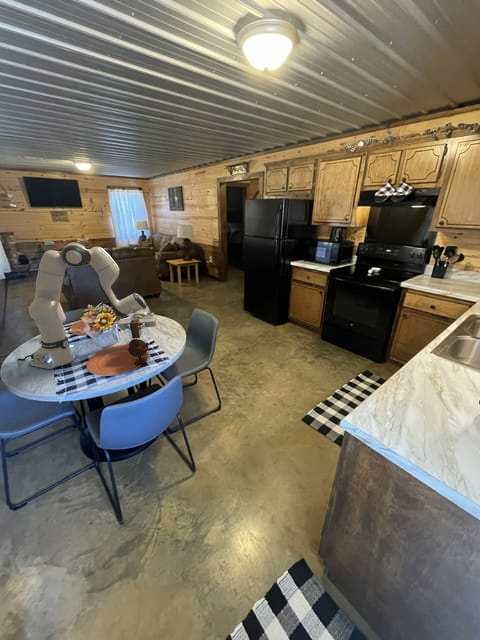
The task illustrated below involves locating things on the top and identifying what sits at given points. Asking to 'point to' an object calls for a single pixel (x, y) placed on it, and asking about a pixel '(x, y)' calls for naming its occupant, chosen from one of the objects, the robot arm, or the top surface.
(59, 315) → the champagne flute
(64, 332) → the robot arm
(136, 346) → the ice cream bowl
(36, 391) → the top surface
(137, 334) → the eraser
